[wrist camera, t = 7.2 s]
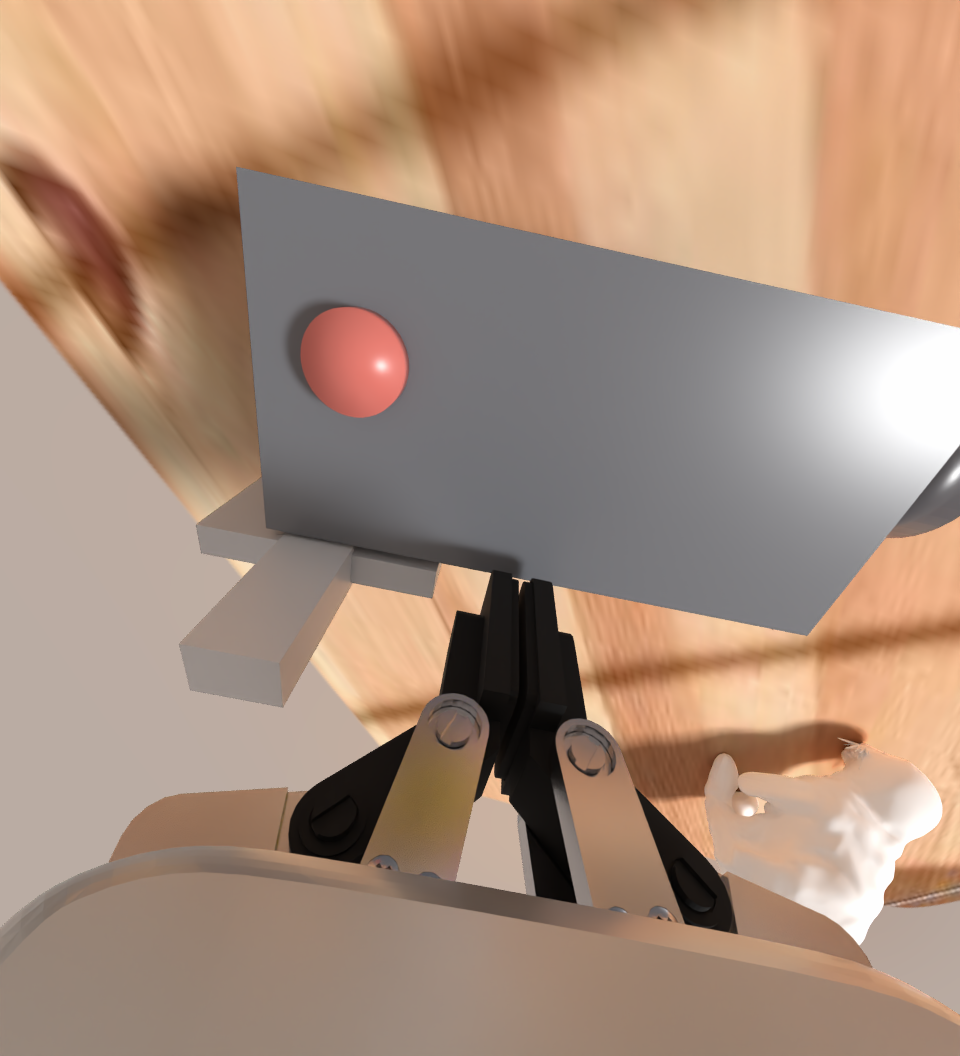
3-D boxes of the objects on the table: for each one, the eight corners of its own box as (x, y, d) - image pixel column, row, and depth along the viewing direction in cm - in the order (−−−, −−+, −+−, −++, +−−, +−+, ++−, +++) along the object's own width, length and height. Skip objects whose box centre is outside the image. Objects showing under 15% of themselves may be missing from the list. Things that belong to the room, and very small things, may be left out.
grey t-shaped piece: (463, 476, 18) (403, 686, 8) (458, 504, 19) (397, 728, 9) (301, 443, 18) (50, 619, 8) (302, 473, 18) (72, 668, 9)
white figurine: (742, 946, 19) (1044, 868, 16) (666, 768, 27) (863, 693, 24) (780, 991, 22) (1050, 930, 19) (701, 816, 29) (883, 753, 26)
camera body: (883, 338, 14) (1194, 376, 8) (762, 533, 18) (899, 668, 12) (358, 222, 14) (216, 157, 7) (350, 449, 18) (254, 540, 11)
